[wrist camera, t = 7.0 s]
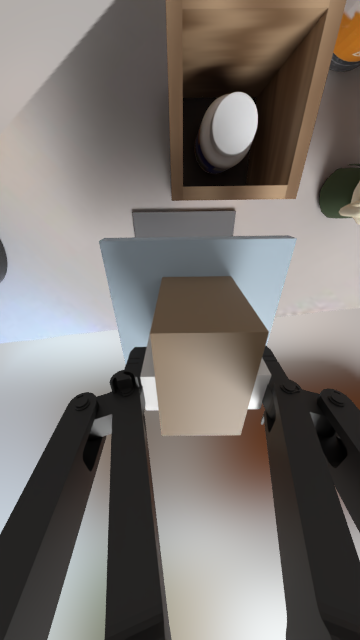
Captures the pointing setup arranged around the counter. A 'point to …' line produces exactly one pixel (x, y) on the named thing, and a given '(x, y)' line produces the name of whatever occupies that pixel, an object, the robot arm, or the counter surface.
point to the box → (252, 81)
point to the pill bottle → (226, 132)
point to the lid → (198, 319)
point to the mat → (184, 224)
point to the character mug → (342, 194)
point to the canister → (348, 39)
